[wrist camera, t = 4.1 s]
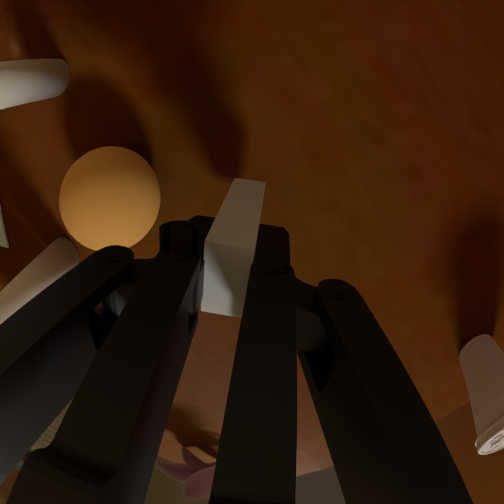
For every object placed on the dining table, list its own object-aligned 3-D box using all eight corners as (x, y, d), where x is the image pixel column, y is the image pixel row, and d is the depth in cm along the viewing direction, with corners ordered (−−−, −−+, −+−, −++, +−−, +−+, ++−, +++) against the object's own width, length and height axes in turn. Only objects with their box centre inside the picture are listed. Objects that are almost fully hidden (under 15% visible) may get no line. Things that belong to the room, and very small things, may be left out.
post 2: (77, 240, 20) (-1, 321, 12) (82, 270, 21) (15, 354, 13) (50, 235, 20) (-27, 308, 12) (56, 264, 21) (-12, 340, 13)
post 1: (71, 55, 13) (-47, 65, 6) (68, 96, 15) (-48, 126, 7) (42, 61, 13) (-71, 78, 6) (40, 99, 15) (-71, 131, 7)
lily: (154, 413, 32) (134, 480, 27) (226, 441, 25) (201, 524, 20) (219, 431, 40) (202, 487, 35) (288, 450, 33) (269, 515, 28)
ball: (32, 159, 12) (103, 137, 17) (50, 257, 15) (109, 219, 19) (110, 162, 11) (179, 140, 15) (123, 284, 13) (180, 234, 18)
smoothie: (503, 349, 22) (553, 463, 10) (451, 380, 24) (487, 502, 12) (501, 310, 20) (571, 443, 7) (440, 347, 22) (489, 495, 10)
